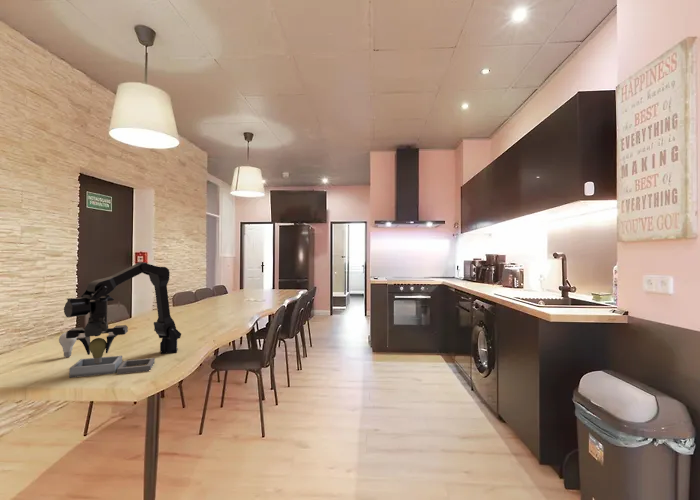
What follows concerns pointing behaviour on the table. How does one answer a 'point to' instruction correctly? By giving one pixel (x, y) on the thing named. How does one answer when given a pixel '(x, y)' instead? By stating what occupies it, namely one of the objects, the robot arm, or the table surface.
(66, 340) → the lightbulb
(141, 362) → the socket collar
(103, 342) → the light bulb
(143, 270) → the robot arm
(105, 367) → the parts tray
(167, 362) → the table surface
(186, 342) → the table surface
